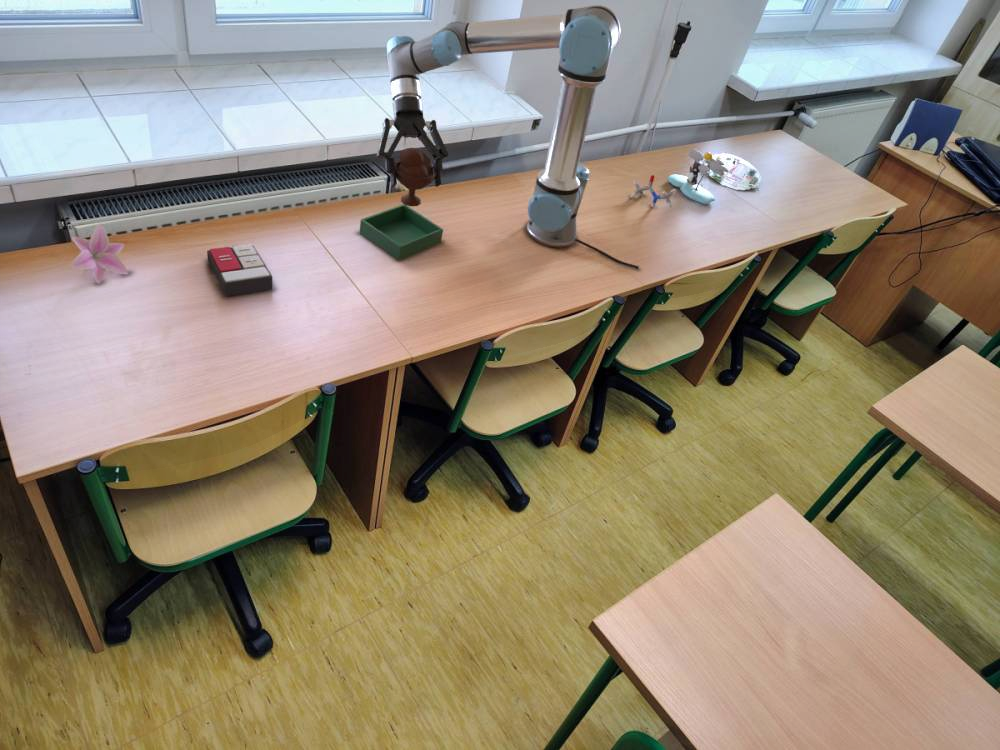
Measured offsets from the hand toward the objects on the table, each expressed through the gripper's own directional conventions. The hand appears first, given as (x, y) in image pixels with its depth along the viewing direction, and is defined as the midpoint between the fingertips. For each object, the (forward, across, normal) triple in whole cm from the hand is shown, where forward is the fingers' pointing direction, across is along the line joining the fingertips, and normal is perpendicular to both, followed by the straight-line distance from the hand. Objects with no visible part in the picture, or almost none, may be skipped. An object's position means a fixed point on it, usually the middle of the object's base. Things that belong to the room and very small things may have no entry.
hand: (416, 185), depth 183 cm
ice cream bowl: (+3, 0, -6) cm, 7 cm away
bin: (+11, +2, -14) cm, 18 cm away
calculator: (+21, +45, -4) cm, 50 cm away
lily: (+18, +74, -7) cm, 77 cm away
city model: (-15, -141, -42) cm, 148 cm away
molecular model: (-1, -91, -27) cm, 95 cm away
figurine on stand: (-7, -114, -33) cm, 118 cm away
